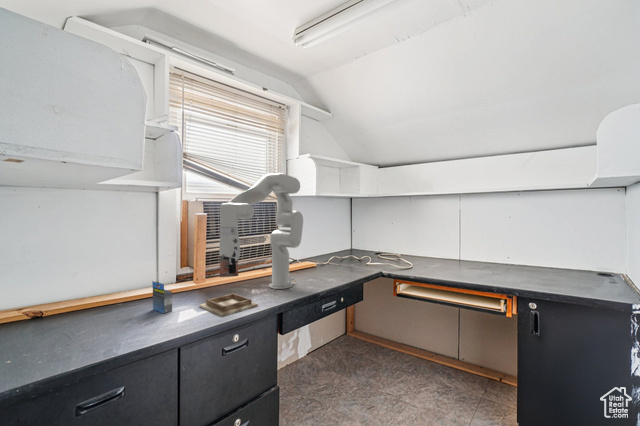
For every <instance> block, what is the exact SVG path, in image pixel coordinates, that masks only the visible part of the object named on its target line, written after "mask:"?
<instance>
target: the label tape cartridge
mask: <svg viewBox="0 0 640 426" xmlns="http://www.w3.org/2000/svg"><path fill="white" fill-rule="evenodd" d="M164 285H165V284H164V283H161V282H157V281H152V310H153V311H156V312H159V313H162V314H167V313H171V312H172V311H173V291H170V290H167V289H165V286H164Z"/></svg>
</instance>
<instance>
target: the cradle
mask: <svg viewBox="0 0 640 426" xmlns="http://www.w3.org/2000/svg"><path fill="white" fill-rule="evenodd" d="M205 301H206V302H204V303H201V304H200V303H199V308H202V309H204V310H206V311H208V312H211V313H213V314H214V313H215V315H217V316H218V317H221V316H222V317H225V315H226V316H228V314H229V315H231V314H234V313H235V312H236V313H238V311H239V312H242V310H243V311H246V310H249V309H253V308H256V307H258V306H259V304H258V303H257V302H254V301H253V300H252V298H249V297H246V296H243V295H241V294H237V293H235V292H234V293H229V294H226V295H222V296H216V297H212V298H209V299H206V300H205ZM245 309H246V310H245ZM236 313H235V314H236Z"/></svg>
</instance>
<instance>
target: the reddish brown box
mask: <svg viewBox="0 0 640 426" xmlns="http://www.w3.org/2000/svg"><path fill="white" fill-rule="evenodd" d="M232 257H234V255H233V256H232ZM222 258H223V259H221V258H220V259H219V275H218V276H219V278H230V277H239V260H238V261H237V264H236V273H232V274H229V264H230V261H229V257H226V258H225V256H224V255H222ZM224 258H225V259H224ZM233 259H234V258H232V260H233Z"/></svg>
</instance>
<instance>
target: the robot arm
mask: <svg viewBox="0 0 640 426" xmlns="http://www.w3.org/2000/svg"><path fill="white" fill-rule="evenodd" d="M300 189H301V182H300V180H299V179H298V178H297V177H295V176H292V175H289V174H286V173H282V172H276V173H266V174H265V175H263V176H262V177H261V178H260V179H259V180H258V181H257V182H256V183H255V184H254V185H253V186H252V187H250V188H249V189H246V190H244V191H242V192H241V193H238V194H237V195H235V196H234V197H233V198H232V199H230V200H229V201H228V202H225V203H221V204H220V206H219V223H220V224H219V229H220V231H219V232H220V233H219V244H218V245H219V249H218V250H219V253H218V255H219V257H220V259H223V258H222V255H224V256H225V258H226V257H229V261H230V264H229V274H232V273H236V264H237V261H238V262H239V259H240V256H241V243H240V236H239V220H249V219H252V217H253V216H254V214H255V208H254V206H253V205H254V204H258V203H260V202H263V201H264V200H266V198H268V197H269V195H270V194H271V193H272V192H273V193H274V195H275V197H276V199H277V207H276V214H275V225H276V226H277V227H280V228H288V229H275V230H273V231H272V232H271V233H270V236H269V240H270V246H271V247H270V248H271V283H269V284H268V287H269V288H271V289H273V290H274V289H275V290H284V289H289V288H291V287H292V286H293V284H292V283H291V282H293V281H296V277H294V276H293V277H290V252H289V250H288V248H291V249H292V248H293V249H294V248H298V247H299V246H300V244H301V241H302V234H303V227H304V216H303V213H302V212H301V211H299V210H293V207H294V206H293V204H294V203H293V199H292V197H291V195H290V194H297V193H299V191H300ZM289 228H290V229H289ZM233 255H234V257H232V256H233ZM225 258H224V259H225ZM232 258H234V259H233V260H232Z"/></svg>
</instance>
